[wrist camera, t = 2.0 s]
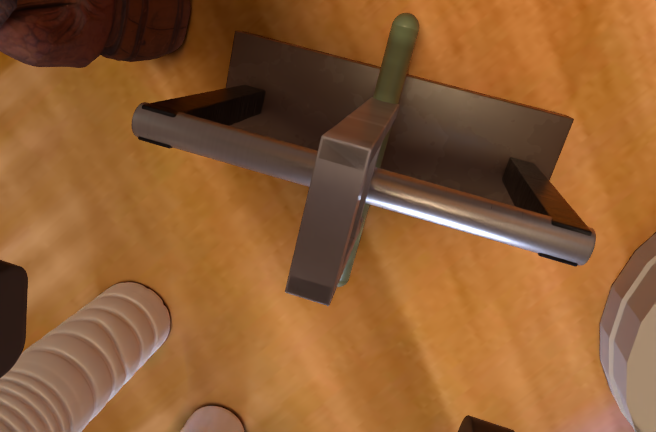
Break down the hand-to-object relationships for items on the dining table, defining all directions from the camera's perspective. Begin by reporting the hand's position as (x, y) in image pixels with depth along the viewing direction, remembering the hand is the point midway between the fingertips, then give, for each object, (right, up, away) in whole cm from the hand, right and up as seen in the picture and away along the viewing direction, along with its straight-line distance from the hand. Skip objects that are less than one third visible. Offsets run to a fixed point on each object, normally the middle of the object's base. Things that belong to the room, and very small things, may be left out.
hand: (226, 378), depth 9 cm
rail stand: (+6, +9, +27) cm, 28 cm away
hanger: (+4, +7, +20) cm, 21 cm away
